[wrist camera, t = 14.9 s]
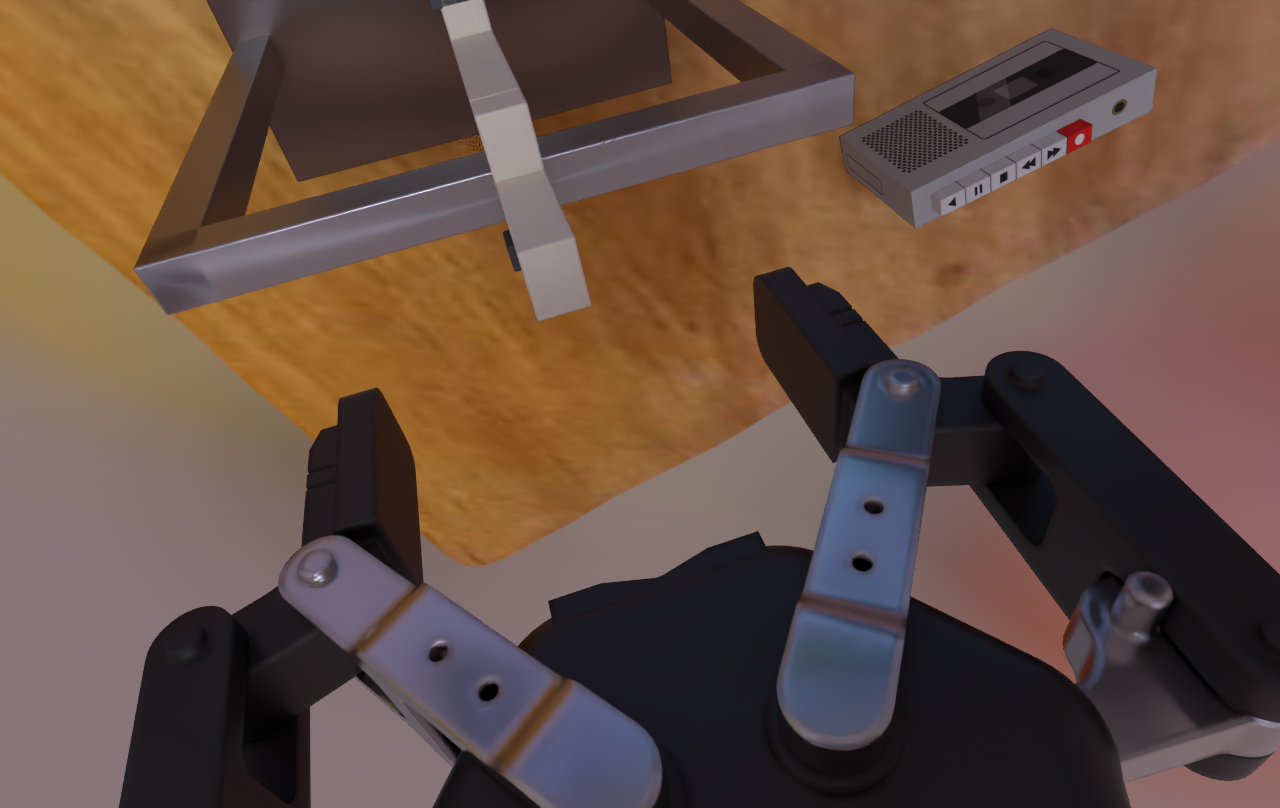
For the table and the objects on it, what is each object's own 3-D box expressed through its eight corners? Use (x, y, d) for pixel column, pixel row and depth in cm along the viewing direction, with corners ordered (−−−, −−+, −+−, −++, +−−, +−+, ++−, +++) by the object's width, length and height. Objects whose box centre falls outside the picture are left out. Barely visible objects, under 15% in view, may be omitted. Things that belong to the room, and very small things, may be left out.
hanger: (415, -40, 24) (448, 85, 14) (476, -55, 24) (547, 59, 15) (510, 256, 31) (571, 463, 22) (556, 242, 31) (635, 442, 22)
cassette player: (1051, 28, 49) (1170, 73, 42) (1050, 66, 51) (1164, 116, 44) (839, 136, 50) (920, 199, 43) (846, 170, 52) (924, 236, 45)
